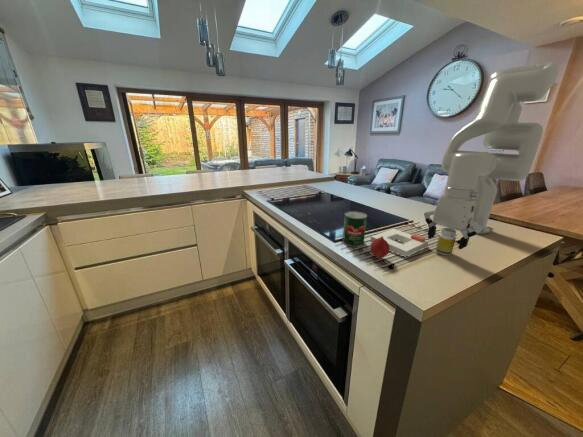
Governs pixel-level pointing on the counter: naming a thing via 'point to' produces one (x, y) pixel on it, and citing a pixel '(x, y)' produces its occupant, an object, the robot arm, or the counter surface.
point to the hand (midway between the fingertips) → (445, 242)
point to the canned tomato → (354, 228)
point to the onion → (379, 247)
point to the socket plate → (411, 241)
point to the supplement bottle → (446, 241)
